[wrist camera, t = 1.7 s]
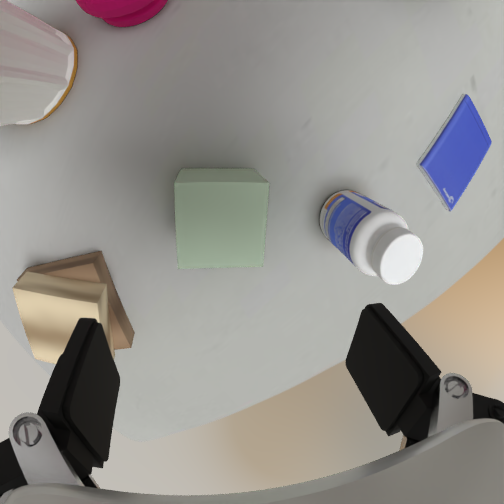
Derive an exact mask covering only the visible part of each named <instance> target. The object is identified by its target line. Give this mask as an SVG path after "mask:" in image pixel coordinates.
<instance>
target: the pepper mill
mask: <svg viewBox="0 0 504 504" xmlns="http://www.w3.org/2000/svg"><path fill="white" fill-rule="evenodd" d="M167 1H168V0H76V2H77V3H78V5H79V6H80V7H81V8H82V9H83V10H84V11H85V12H86V13H88V14H90V15H92V16H95V17H98V18H102V19H103V20H104V21H105V22H107V23H108V24H110V25H113V26H117V27H129V26H134V25H137V24H140V23H143V22H145V21H147V20H149V19H150V18H152V17H153V16H155V15H156V14H157V13H158V12H159V11H160V10H161V9H162V8H163V7H164V6H165V4H166V2H167Z"/></svg>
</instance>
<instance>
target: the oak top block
mask: <svg viewBox="0 0 504 504" xmlns="http://www.w3.org/2000/svg"><path fill="white" fill-rule="evenodd" d="M13 292H14V295H15V299H16V303H17V307H18V310H19V313H20V317H21V320H22V323H23V326H24V329H25V332H26V335H27V338H28V341H29V343H30V346H31V349H32V351H33V354H34V357H35V359H38V360H41V361H45V362H49V363H53V364H56V363H57V361H58V359H59V357H60V355H61V354H63V352H64V350H65V348H66V345H67V343H68V341H69V339H70V337H71V334H72V332H73V330H74V328H75V326H76V324H77V322H78V320H79V319H80V318H95V319H96V320H97V322H98V323H101V324H102V326H103V329H104V332H105V336H106V339H107V342H108V345H109V348H110V351H111V354H112V357H113V360H114V357H115V352H114V345H113V339H112V331H111V324H110V315H109V306H108V295H107V284H103V283H96V282H89V281H82V280H75V279H69V278H63V277H56V276H50V275H44V274H39V273H33V272H26V273H25V274H24V275H23V276H22V277H21V279H20V280H19V281H18V282H17V283H16V284H15V285H14V287H13Z"/></svg>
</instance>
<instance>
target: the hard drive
mask: <svg viewBox="0 0 504 504" xmlns="http://www.w3.org/2000/svg"><path fill="white" fill-rule="evenodd" d="M490 145H491V139H490V137H489V135H488V132H487V130H486V128H485V126H484V124H483V122H482V120H481V118H480V116H479V114H478V112H477V110H476V108H475V106H474V104H473V102H472V101H471V99H470V97H469V96H468V95H467V94H463V95H462V96H461V98H460V100H459V101H458V103H457V104H456V106H455V107H454V109H453V111H452V112H451V114H450V115H449V117H448V118H447V120H446V121H445V123H444V124H443V126H442V127H441V129H440V130H439V132H438V133H437V135H436V136H435V138H434V139H433V141H432V142H431V144H430V145H429V147H428V148H427V150H426V151H425V152H424V154H423V155H422V157H421V158H420V160H419V161H418V162H417V164H416V165H417V166H418V167H419V169H420V170H421V172H422V173H423V174H424V176H425V177H426V179H427V180H428V182H429V183H430V185H431V186H432V188H433V189H434V191H435V192H436V194H437V195H438V197H439V199H440V200H441V202H442V203H443V205H444V207H445V208H446V210H448V211H451V210H452V209H453V207H454V206H455V204H456V203H457V201H458V200H459V198H460V197H461V195H462V193H463V192H464V190H465V189H466V187H467V185H468V184H469V182H470V181H471V179H472V177H473V176H474V174H475V172H476V170H477V169H478V167H479V165H480V164H481V162H482V160H483V158H484V156H485V154H486V153H487V151H488V149H489V147H490Z"/></svg>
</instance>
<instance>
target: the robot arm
mask: <svg viewBox="0 0 504 504" xmlns="http://www.w3.org/2000/svg"><path fill="white" fill-rule="evenodd" d="M346 367H347V369H348V371H349V372H350V374H351V376H352V378H353V379H354V381H355V383H356V385H357V386H358V388H359V390H360V392H361V394H362V395H363V397H364V399H365V401H366V402H367V404H368V406H369V408H370V410H371V412H372V413H373V415H374V417H375V419H376V421H377V422H378V424H379V426H380V428H381V429H382V430H384V431H386V433H387V435H388V436H390V435H393V434H395V433H398V432H400V430H401V431H402V433H403V438H402V442H401V446H400V450H399V451H398V452H396V453H393V454H391V455H388V456H386V457H383V458H381V459H378V460H376V461H373V462H370V463H368V464H365V465H362V466H359V467H356V468H353V469H350V470H347V471H344V472H341V473H337V474H334V475H331V476H327V477H323V478H319V479H315V480H311V481H307V482H303V483H298V484H293V485H289V486H283V487H278V488H272V489H266V490H259V491H251V492H242V493H232V494H219V495H191V496H182V495H180V496H178V495H155V494H139V493H128V492H120V491H113V490H105V489H100V487H99V486H98V484H97V483H96V482H95V480H94V479H93V478H92V476H91V472H92V467H98V468H103V463H104V461H107V460H108V457H109V448H110V440H111V434H112V427H113V420H114V414H115V408H116V403H117V397H118V392H119V386H120V376H119V373H118V371H117V368H116V365H115V362H114V360H113V357H112V354H111V351H110V348H109V345H108V342H107V339H106V336H105V332H104V329H103V326H102V324H101V323H98V322H97V320H96V319H95V318H80V319H79V320H78V322H77V324H76V326H75V328H74V330H73V332H72V334H71V337H70V339H69V341H68V343H67V345H66V348H65V350H64V352H63V354H61V355H60V357H59V359H58V361H57V363H56V366H55V368H54V370H53V373H52V375H51V378H50V380H49V383H48V385H47V388H46V390H45V393H44V396H43V399H42V401H41V404H40V407H39V410H38V413H37V414H34V413H23V414H20V415H18V416H17V417H15V419H14V420H13V421H12V423H11V425H10V427H9V438H8V439H6V440H5V441H3V442H1V443H0V504H504V403H503V402H501V401H499V400H496V399H492V398H488V397H484V396H481V395H478V394H474V393H472V388H471V385H470V383H469V382H468V381H467V380H466V378H464V377H463V376H461V375H459V374H455V373H449V374H446V375H444V376H443V377H442V379H440V377H439V375H440V373H441V371H440V370H439V369H438V367H437V366H436V365H435V364H434V362H433V361H432V360H431V359H430V357H429V356H428V355H427V354H426V353H425V352H424V351H423V349H422V348H421V347H420V346H419V344H418V343H417V342H416V341H415V340H414V339H413V337H412V336H411V335H410V334H409V333H408V332H407V331H406V330H405V328H404V327H403V326H402V325H401V324H400V323H399V322H398V320H397V319H396V318H395V317H394V316H393V315H392V314H391V313H390V311H389V310H388V309H387V308H386V307H385V306H384V305H383V304H382V303H376V304H369V305H367V306H366V307H365V309H363V310H362V312H361V315H360V318H359V322H358V325H357V328H356V331H355V334H354V337H353V340H352V343H351V346H350V349H349V352H348V355H347V358H346Z"/></svg>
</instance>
